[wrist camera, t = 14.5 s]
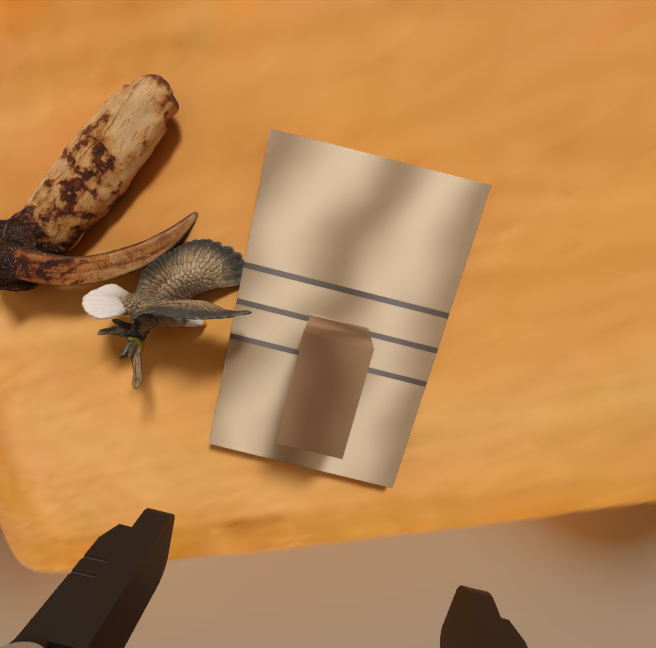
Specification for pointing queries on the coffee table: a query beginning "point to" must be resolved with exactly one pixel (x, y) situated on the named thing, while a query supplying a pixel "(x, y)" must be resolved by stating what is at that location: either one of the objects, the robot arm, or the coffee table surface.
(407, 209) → the birch board
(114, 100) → the lashed bone hook
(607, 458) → the coffee table surface
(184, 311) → the eagle figurine
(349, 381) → the block
